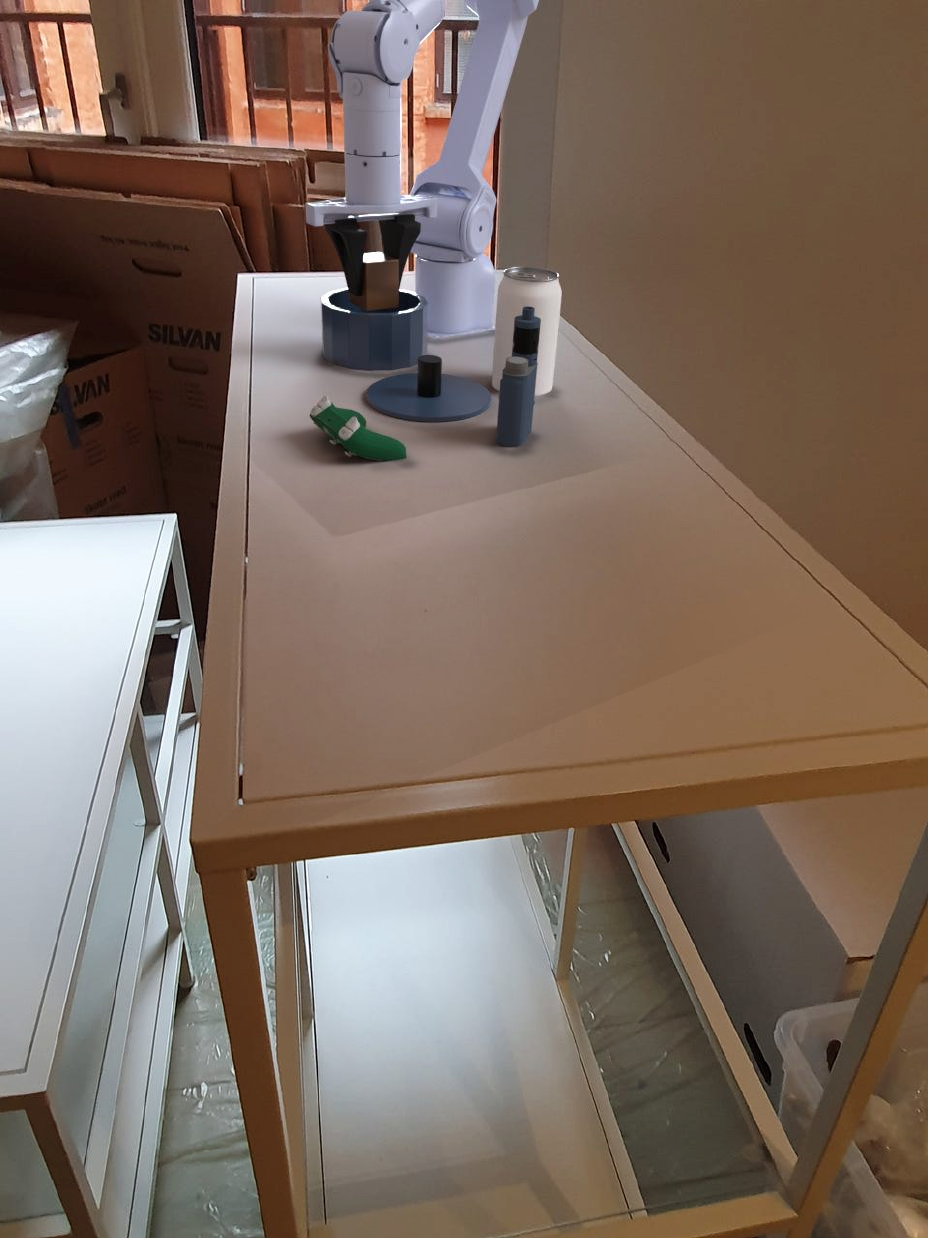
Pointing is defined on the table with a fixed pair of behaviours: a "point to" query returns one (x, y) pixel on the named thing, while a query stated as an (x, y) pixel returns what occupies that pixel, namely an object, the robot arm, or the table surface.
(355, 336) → the tin
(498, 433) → the vaping device
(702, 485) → the table surface
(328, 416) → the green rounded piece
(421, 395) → the lid
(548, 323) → the can
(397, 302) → the block
